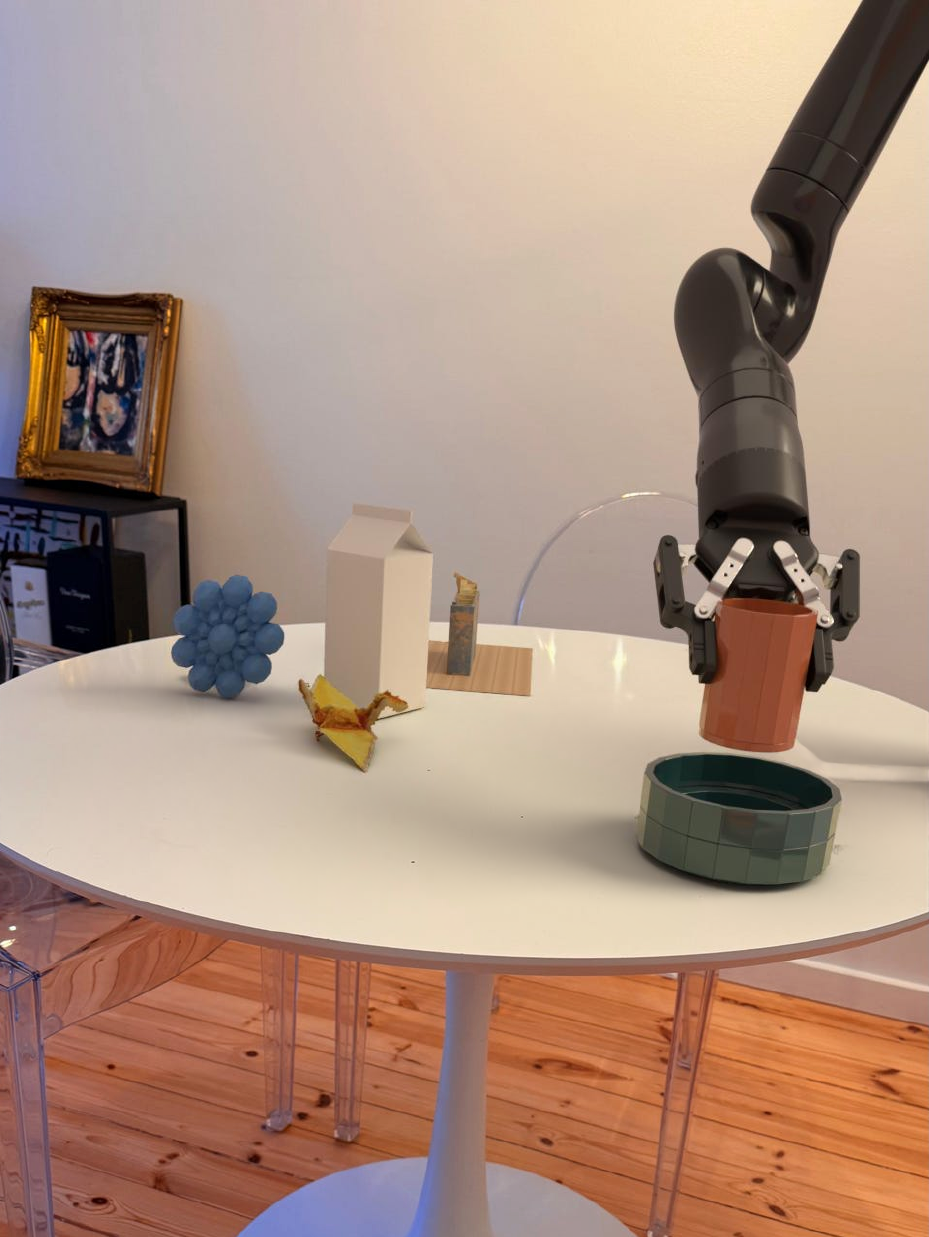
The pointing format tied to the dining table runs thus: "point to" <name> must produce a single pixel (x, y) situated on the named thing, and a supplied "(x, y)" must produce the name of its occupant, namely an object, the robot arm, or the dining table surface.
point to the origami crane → (346, 717)
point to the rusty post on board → (463, 626)
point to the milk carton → (378, 608)
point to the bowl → (738, 817)
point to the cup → (758, 674)
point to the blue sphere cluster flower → (227, 636)
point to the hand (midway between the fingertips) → (762, 681)
